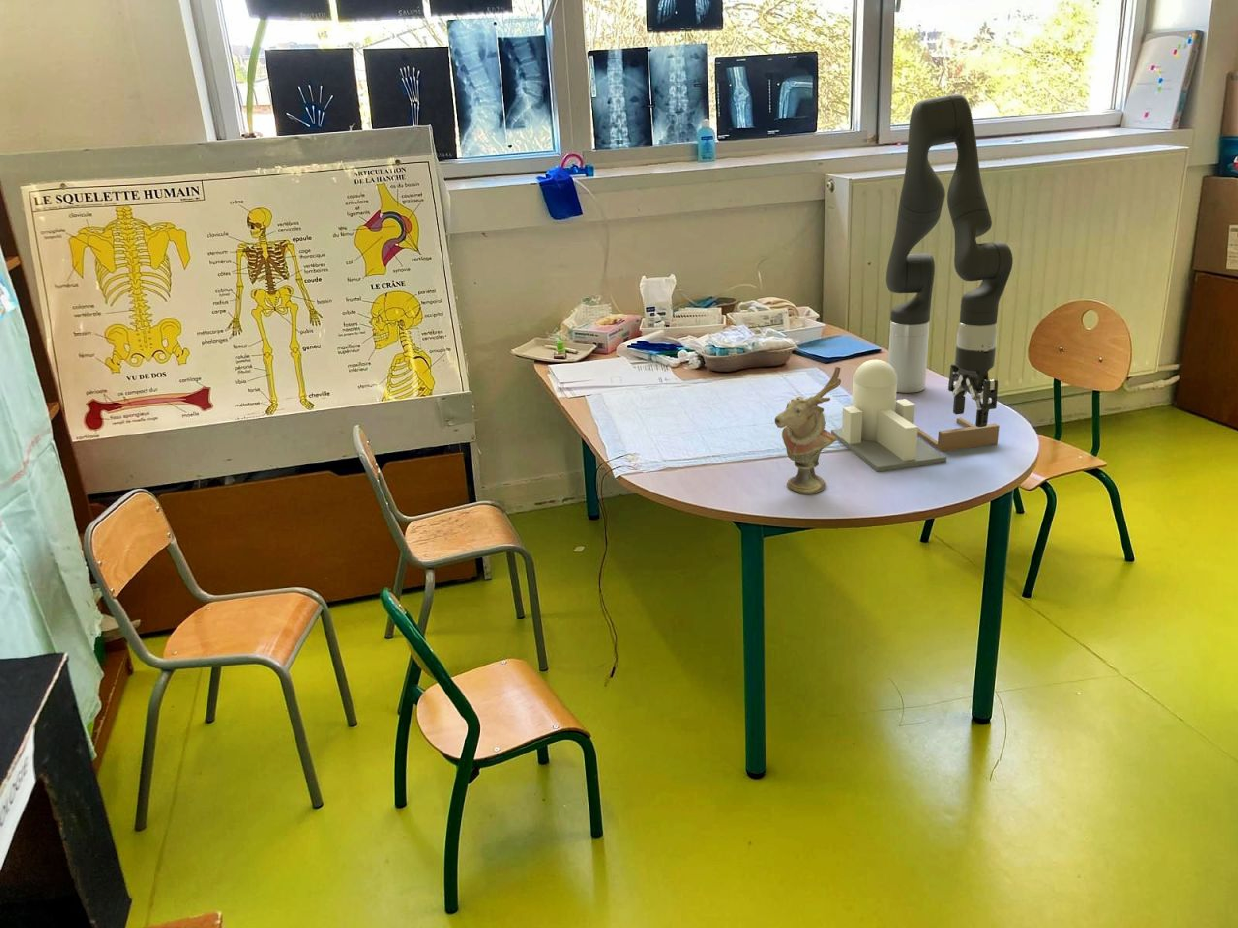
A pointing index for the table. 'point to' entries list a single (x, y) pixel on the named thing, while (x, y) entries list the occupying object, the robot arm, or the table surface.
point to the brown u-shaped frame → (963, 436)
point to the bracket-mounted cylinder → (882, 422)
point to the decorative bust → (807, 437)
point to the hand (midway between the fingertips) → (969, 420)
